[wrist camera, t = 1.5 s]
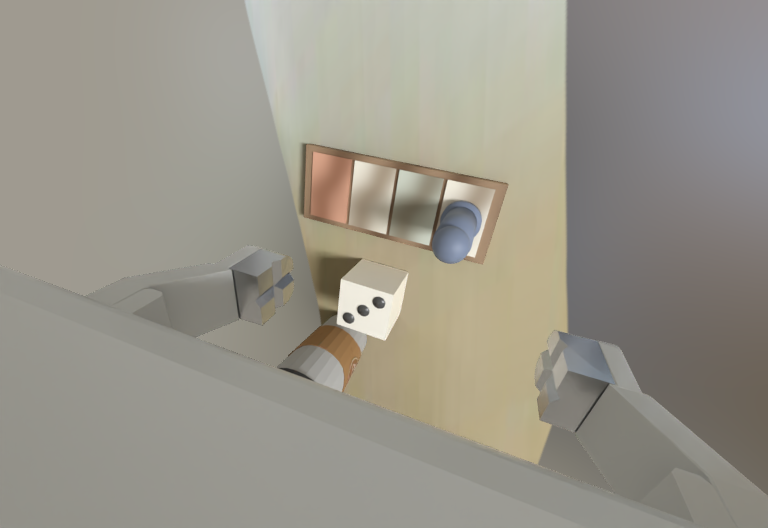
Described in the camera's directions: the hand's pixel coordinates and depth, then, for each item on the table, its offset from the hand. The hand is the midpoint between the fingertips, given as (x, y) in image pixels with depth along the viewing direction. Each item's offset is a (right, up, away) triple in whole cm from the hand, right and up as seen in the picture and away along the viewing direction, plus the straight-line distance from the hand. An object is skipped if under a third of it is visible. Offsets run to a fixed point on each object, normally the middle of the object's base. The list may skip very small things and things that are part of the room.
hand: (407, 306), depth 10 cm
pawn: (+7, +6, +22) cm, 24 cm away
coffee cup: (-6, -8, +35) cm, 36 cm away
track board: (+1, +8, +25) cm, 26 cm away
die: (-1, -1, +30) cm, 30 cm away
